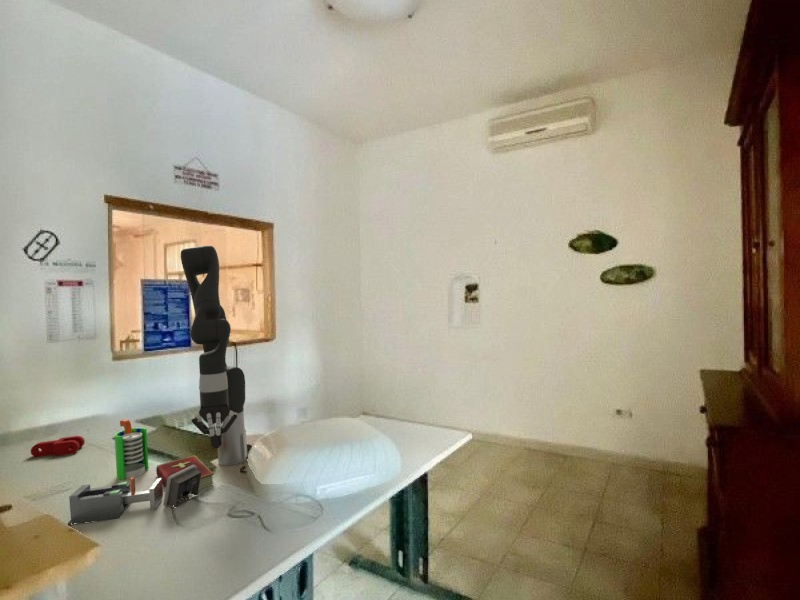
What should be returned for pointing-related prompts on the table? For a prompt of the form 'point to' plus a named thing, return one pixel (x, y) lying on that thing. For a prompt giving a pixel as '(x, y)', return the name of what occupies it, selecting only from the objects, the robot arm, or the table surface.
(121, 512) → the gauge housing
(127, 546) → the table surface
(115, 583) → the table surface
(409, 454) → the table surface
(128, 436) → the green-shelled ribbed roller
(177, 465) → the hardcover book
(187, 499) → the electrical switch
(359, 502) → the table surface
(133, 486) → the plunger
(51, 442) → the mechanical linkage
